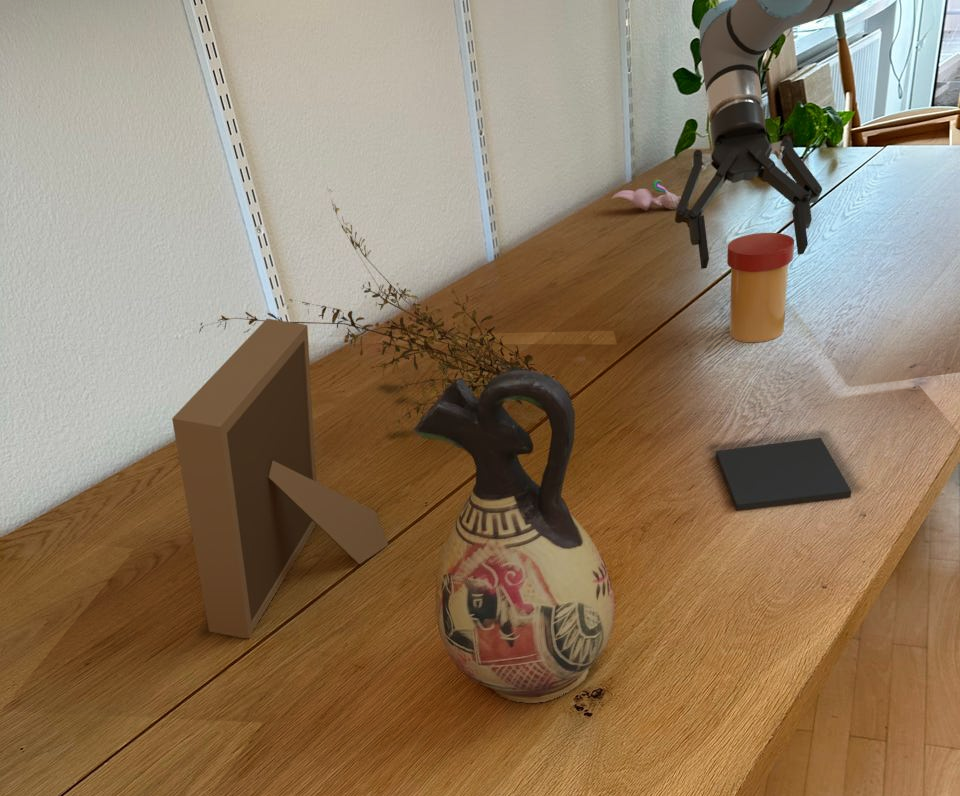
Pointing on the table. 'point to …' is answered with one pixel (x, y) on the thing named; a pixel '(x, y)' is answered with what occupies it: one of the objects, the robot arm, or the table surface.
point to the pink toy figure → (650, 197)
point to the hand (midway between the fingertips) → (753, 257)
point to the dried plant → (426, 341)
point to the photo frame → (259, 478)
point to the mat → (781, 474)
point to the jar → (758, 304)
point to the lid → (760, 252)
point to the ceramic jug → (517, 549)
